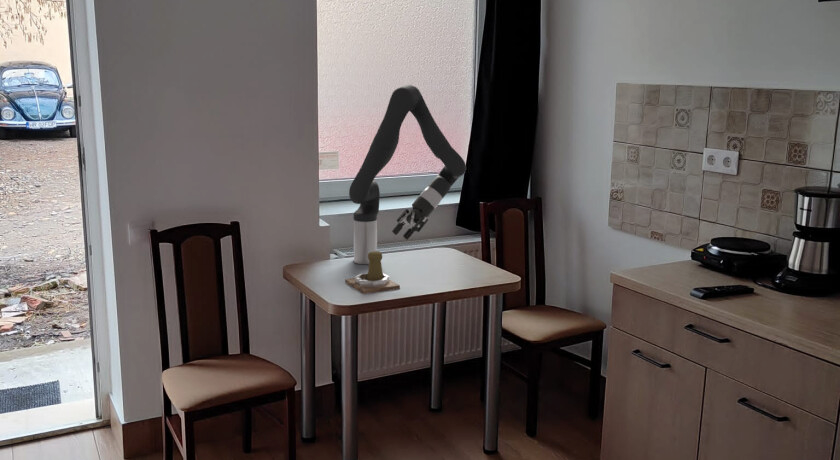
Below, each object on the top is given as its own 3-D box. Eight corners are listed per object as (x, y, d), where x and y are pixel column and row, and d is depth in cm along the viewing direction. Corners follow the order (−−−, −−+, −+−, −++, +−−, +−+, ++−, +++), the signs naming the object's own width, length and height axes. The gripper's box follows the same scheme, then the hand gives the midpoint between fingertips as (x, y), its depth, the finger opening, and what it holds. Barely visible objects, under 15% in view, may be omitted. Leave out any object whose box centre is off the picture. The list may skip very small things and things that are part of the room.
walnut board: (345, 282, 282) (345, 279, 281) (379, 277, 288) (379, 274, 288) (363, 293, 268) (363, 290, 268) (399, 288, 275) (399, 285, 275)
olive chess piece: (381, 284, 275) (380, 254, 273) (364, 283, 276) (364, 253, 274) (385, 279, 281) (385, 250, 278) (369, 278, 282) (369, 249, 280)
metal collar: (351, 280, 280) (351, 274, 280) (379, 276, 286) (379, 271, 285) (364, 288, 270) (364, 282, 270) (393, 284, 276) (393, 278, 275)
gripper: (411, 192, 287) (383, 225, 284) (430, 198, 275) (402, 233, 272) (424, 205, 291) (396, 238, 288) (443, 212, 278) (415, 246, 276)
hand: (399, 235), depth 280 cm, fingers open, 8 cm apart
